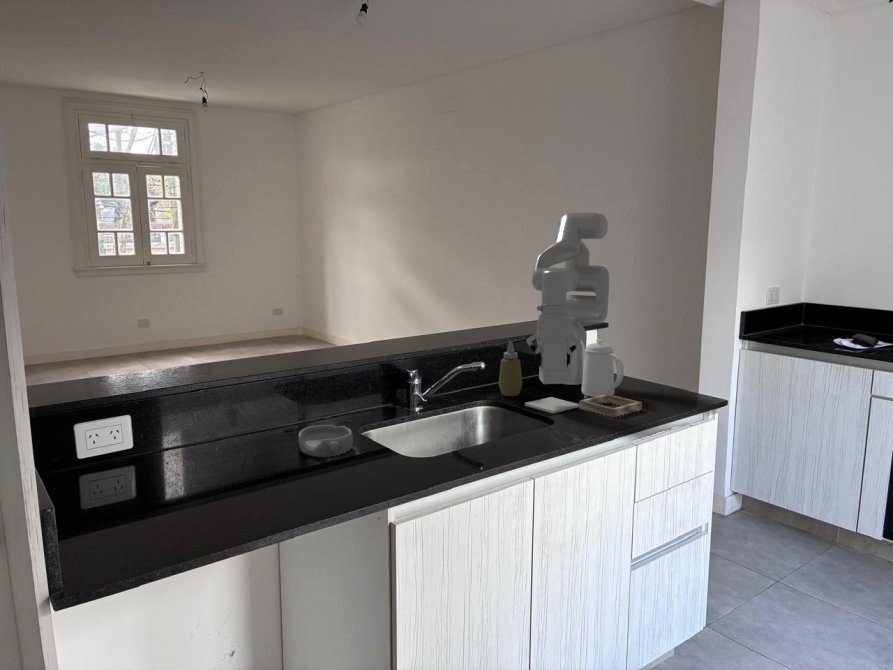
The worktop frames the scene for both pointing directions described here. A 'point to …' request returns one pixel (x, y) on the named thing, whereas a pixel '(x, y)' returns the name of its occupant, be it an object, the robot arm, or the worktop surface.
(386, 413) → the worktop surface
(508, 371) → the squeeze bottle
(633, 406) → the wooden frame
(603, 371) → the coffeepot
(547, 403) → the tile
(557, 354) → the supplement box
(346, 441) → the dish
